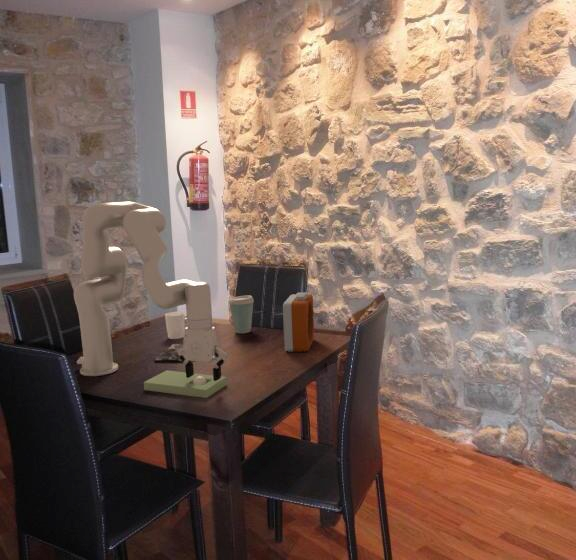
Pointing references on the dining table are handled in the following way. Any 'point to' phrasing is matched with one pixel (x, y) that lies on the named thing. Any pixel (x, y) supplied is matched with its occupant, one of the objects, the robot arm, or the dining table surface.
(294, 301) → the orange and grey box
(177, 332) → the white cup
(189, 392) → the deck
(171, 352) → the terrain model
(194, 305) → the robot arm
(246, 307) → the disposable coffee cup
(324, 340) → the dining table surface
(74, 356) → the dining table surface
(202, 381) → the ball
